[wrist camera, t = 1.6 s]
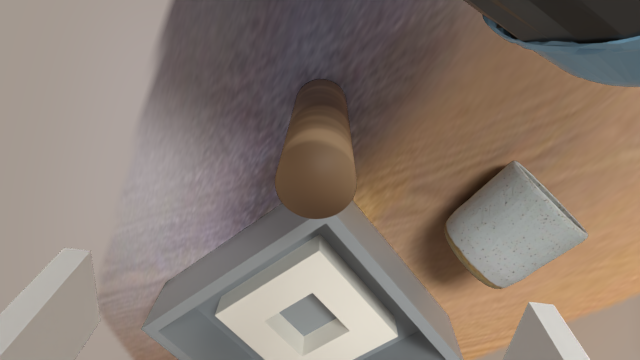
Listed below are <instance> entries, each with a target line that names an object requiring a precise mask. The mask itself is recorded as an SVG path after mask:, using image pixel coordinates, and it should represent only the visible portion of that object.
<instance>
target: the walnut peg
mask: <svg viewBox="0 0 640 360" xmlns="http://www.w3.org/2000/svg"><path fill="white" fill-rule="evenodd" d="M356 187H357V179H356V171H355V163H354V156H353V148H352V141H351V133H350V125H349V118H348V110H347V102H346V97H345V94H344V92H343V91H342V89H341V88H340V87H339V86H338V85H337V84H335V83H334V82H332V81H329V80H326V79H316V80H312V81H310V82H308V83H306V84H305V85H304V86H303V87H302V88H301V89H300V91H299V92H298V94H297V97H296V101H295V105H294V108H293V112H292V116H291V120H290V123H289V127H288V131H287V134H286V138H285V142H284V146H283V149H282V153H281V157H280V160H279V164H278V168H277V172H276V176H275V188H276V192H277V195H278V197H279V199H280V200H281V202H282V203H283V204H284V206H285V207H286V208H287V209H289V210H290V211H291V212H293V213H295V214H296V215H299V216H301V217H304V218H309V219H324V218H328V217H332V216H334V215H336V214H338V213H340V212H341V211H343V210H344V209H345V208H346V207H347V206H348V205H349V204H350V202H351V201H352V199H353V197H354V195H355V192H356Z"/></svg>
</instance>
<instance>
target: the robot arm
mask: <svg viewBox="0 0 640 360" xmlns="http://www.w3.org/2000/svg"><path fill="white" fill-rule="evenodd" d="M464 1H465V2H467V3H468V4H469V5H471V6H472V7H473V8H475V9H476V10H478V11H479V12H480V13H482V14H483V19H484V21H485V22H486V23H487V25H488V26H489V27H490V28H491V29H492V30H493V31H494V32H496V33H497V34H498V35H499V36H501V37H502V38H504V39H505V40H507V41H509V42H511V43H516V44H518V45H520V46H522V47H523V48H526V49H531V50H533V51H535V52H536V53H538V54H539V55H541V56H543V57H544V58H546V59H547V60H549V61H550V62H552V63H553V64H555V65H556V66H558V67H559V68H561V69H563V70H564V71H566V72H568V73H570V74H572V75H574V76H577V77H579V78H583V79H586V80H589V81H593V82H597V83H601V84H605V85H612V86H624V87H640V0H464ZM99 322H100V314H99V306H98V299H97V292H96V285H95V277H94V271H93V264H92V256H91V251H88V250H80V249H71V248H63V250H62V251H61V252H60V253H59V254H58V255H57V256H56V257H55V258H54V259H53V260H52V261H51V262H50V263H49V264H48V265H47V266H46V267H45V268H44V269H43V270H42V271H41V272H40V273H39V274H38V275H37V276H36V277H35V278H34V280H32V282H31V283H30V284H29V285H28V286H27V287H26V288H25V289H24V290H23V291H22V292H21V293H20V294H19V295H18V296H17V297H16V298H15V299H14V300H13V301H12V302H11V303H10V304H9V305H8V306H7V307H6V308H5V309H4V311H2V313H1V314H0V360H75V359H76V357H77V356H78V354H79V353H80V351H81V349H82V348H83V347H84V345H85V344H86V342H87V341H88V339H89V337H90V336H91V334H92V333H93V331H94V330H95V328H96V327H97V325H98V324H99ZM503 360H590V359H589V357H588V356H587V354H586V353H585V351H584V350H583V348H582V347H581V345H580V344H579V342H578V341H577V339H576V338H575V336H574V335H573V333H572V332H571V330H570V329H569V327H568V326H567V324H566V323H565V321H564V320H563V318H562V317H561V315H560V314H559V312H558V311H557V309H556V308H555V306H554V305H552V304H543V303H535V302H529V303H528V305H527V307H526V309H525V311H524V314H523V316H522V318H521V320H520V323H519V325H518V327H517V329H516V331H515V334H514V336H513V338H512V340H511V342H510V345H509V347H508V349H507V352H506V354H505V356H504V358H503Z"/></svg>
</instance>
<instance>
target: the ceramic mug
mask: <svg viewBox="0 0 640 360" xmlns="http://www.w3.org/2000/svg"><path fill="white" fill-rule="evenodd" d="M444 232H445V237H446V240H447V242H448V244H449V246H450V247H451V249H452V250H453V252H454V253H455V255H456V256H457V258H458V259H459V260H460V261H461V263H462V264H463V265H464V266H465V267H466V268H467V269H468V270H469V272H470V273H472V274H473V275H474V276H475V277H476V278H477V279H478V280H479V281H481V282H482V283H484V284H485V285H487V286H489V287H492V288H495V289H502V288H505V287H508V286H510V285H512V284H514V283H516V282H518V281H520V280H522V279H524V278H525V277H527V276H528V275H530V274H531V273H533V272H534V271H536V270H537V269H538V268H540V267H542V266H543V265H545V264H547V263H549V262H550V261H552V260H553V259H555V258H557V257H558V256H560V255H562V254H563V253H565V252H566V251H568V250H570V249H571V248H573V247H575V246H576V245H578V244H580V243H581V242H583V241H584V240H585V239H586V238H587V237H588V234H587V232H586V230H585V229H584V228H583V227H582V226H581V224H580V223H579V222H578V221H577V220H576V219H575V218H574V217H573V216H572V215H571V214H570V213H569V212H568V211H567V209H566V208H565V207H564V206H563V205H562V204H561V203H560V202H559V201H558V200H557V199H556V198H555V197H554V196H553V195H552V194H551V193H550V192H549V191H548V190H547V189H546V188H545V186H543V185H542V184H541V183H540V182H539V181H538V180H537V179H536V178H535V177H534V176H533V175H532V174H531V173H530V172H529V171H528V170H527V169H526V168H524V167H523V166H522V165H521V164H520V163H519V162H517V161H512V162H511V163H509V164H508V165H507V166H506V167H505V168H504V169H503V170H501V171H500V172H499V173H498V174H497V175H496V176H495V177H494V178H492V179H491V180H490V181H489V182H488V183H487V184H486V185H484V186H483V187H482V188H481V189H480V190H479V191H477V192H476V193H475V194H474V195H473V196H472V197H471V198H470V199H468V200H467V201H466V202H465V203H464V204H462V205H461V206H460V207H459V208H458V209H457V210H455V211H454V213H453V214H452V215H451V216H450V217H449V219H448V220H447V222H446V223H445V227H444Z"/></svg>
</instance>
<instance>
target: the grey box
mask: <svg viewBox="0 0 640 360" xmlns="http://www.w3.org/2000/svg"><path fill="white" fill-rule="evenodd" d="M141 330H143V331H144V332H145V333H146V334H148V335H149V336H150V337H151V338H153V339H154V340H155V341H156V342H158V343H159V344H160V345H161V346H163V347H164V348H165V349H166V350H168V351H169V352H170V353H171V354H173V355H174V356H175V357H176V358H178V359H179V360H464V359H463V356H462V353H461V351H460V348H459V345H458V342H457V339H456V336H455V333H454V330H453V327H452V325H451V322H450V319H449V316H448V315H447V314H446V312H445V311H444V310H443V309H442V307H441V306H440V305H439V304H438V303H437V301H436V300H435V299H434V298H433V297H432V295H431V294H430V293H429V292H428V291H427V289H426V288H425V287H424V286H423V285H422V283H421V282H420V281H419V280H418V279H417V277H416V276H415V275H414V274H413V273H412V271H411V270H410V269H409V268H408V266H407V265H406V264H405V263H404V262H403V260H402V259H401V258H400V257H399V256H398V254H397V253H396V252H395V251H394V250H393V248H392V247H391V246H390V245H389V244H388V242H387V241H386V240H385V239H384V238H383V236H382V235H381V234H380V233H379V231H378V230H377V229H376V228H375V227H374V225H373V224H372V223H371V222H370V221H369V219H368V218H367V217H366V216H365V215H364V213H363V212H362V211H361V210H360V209H359V207H358V206H357V205H356V204H355V203H354V201H353V200H352V201H351V202H350V204H349V205H348V206H347V207H346V208H345V209H344V210H343V211H341V212H340V213H338V214H336V215H334V216H332V217H328V218H324V219H309V218H304V217H301V216H299V215H296V214H295V213H293V212H291V211H290V210H289V209H287V208H286V207H285V206H284V204H283V203H282V204H281V205H279V206H278V207H276V208H275V209H273V210H272V211H270V212H269V213H267V214H266V215H264V216H263V217H261V218H260V219H259V220H257V221H256V222H254V223H253V224H251V225H250V226H248V227H247V228H245V229H244V230H242V231H241V232H239V233H238V234H237V235H235V236H234V237H232V238H231V239H229V240H228V241H226V242H225V243H223V244H222V245H220V246H219V247H218V248H216V249H215V250H213V251H212V252H210V253H209V254H207V255H206V256H204V257H203V258H201V259H200V260H198V261H197V262H196V263H194V264H193V265H191V266H190V267H188V268H187V269H185V270H184V271H182V272H181V273H179V274H178V275H177V276H175V277H174V278H172V279H171V280H169V281H168V282H166V283H165V285H164V287H163V289H162V291H161V293H160V294H159V296H158V298H157V300H156V302H155V304H154V306H153V308H152V309H151V311H150V313H149V315H148V317H147V319H146V321H145V323H144V325H143V326H142V328H141Z"/></svg>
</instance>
